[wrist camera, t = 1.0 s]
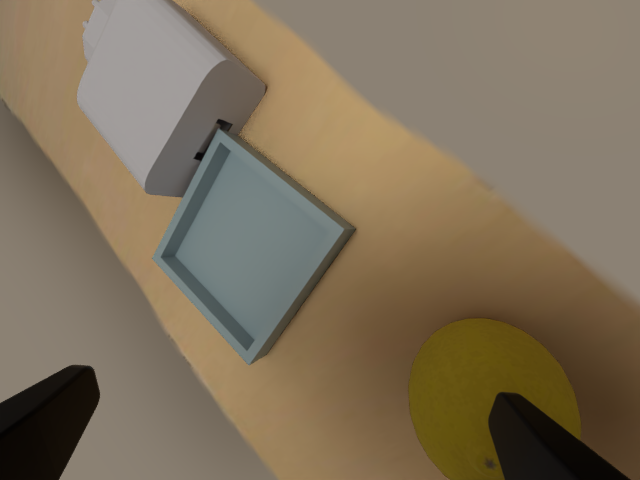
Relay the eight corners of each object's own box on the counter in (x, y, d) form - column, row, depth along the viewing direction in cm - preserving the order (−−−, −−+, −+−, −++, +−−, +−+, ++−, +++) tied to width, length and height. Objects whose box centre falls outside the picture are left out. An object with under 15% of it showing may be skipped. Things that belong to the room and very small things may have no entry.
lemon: (582, 373, 14) (691, 523, 7) (479, 435, 16) (482, 603, 9) (486, 277, 16) (496, 321, 9) (401, 343, 18) (350, 425, 10)
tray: (355, 228, 18) (344, 229, 17) (265, 354, 21) (249, 365, 20) (237, 135, 22) (218, 128, 20) (173, 256, 25) (152, 258, 23)
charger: (148, -26, 25) (272, 88, 21) (98, 80, 28) (198, 199, 24) (80, -78, 21) (219, 53, 16) (30, 54, 24) (137, 193, 19)
